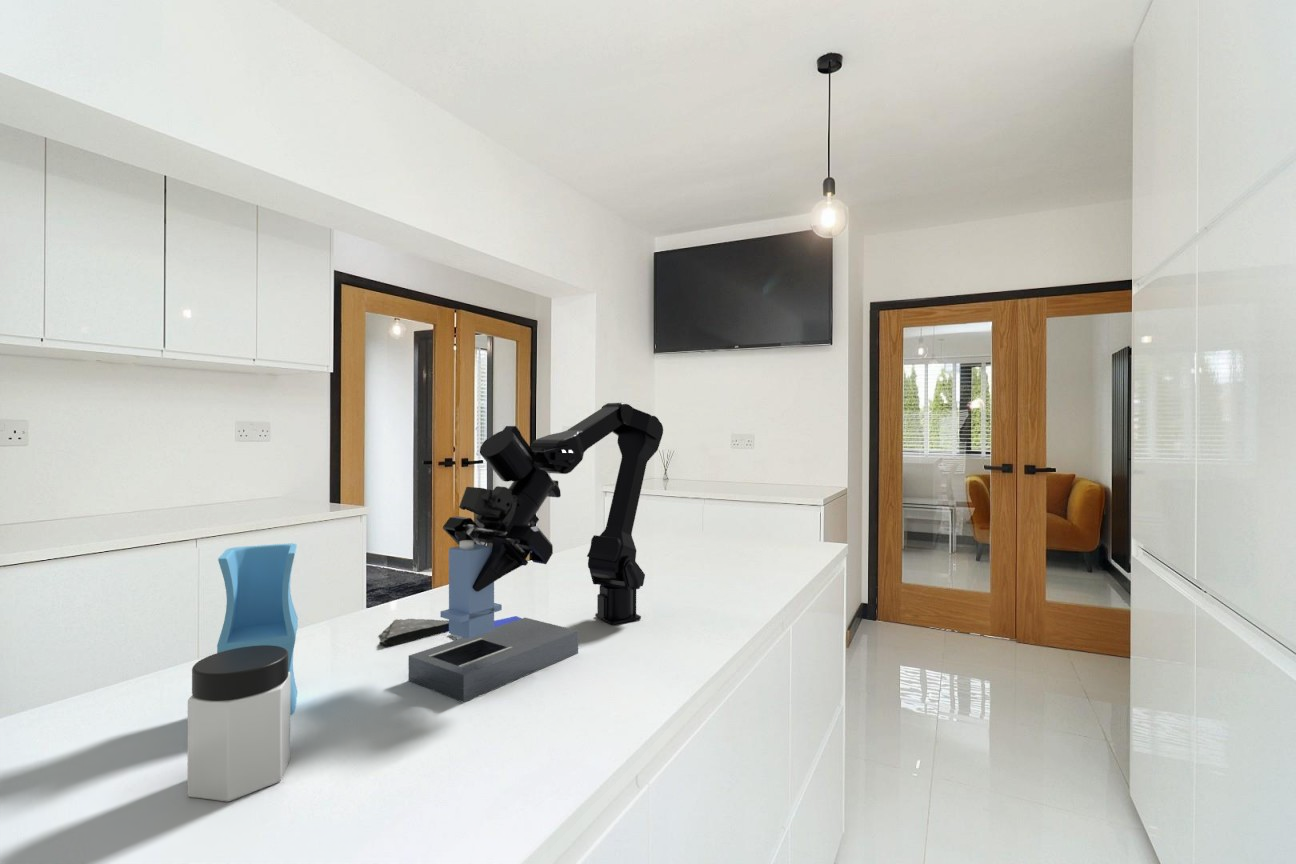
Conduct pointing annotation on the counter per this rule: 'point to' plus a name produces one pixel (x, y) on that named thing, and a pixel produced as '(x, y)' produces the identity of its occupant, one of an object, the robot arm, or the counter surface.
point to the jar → (238, 722)
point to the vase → (260, 601)
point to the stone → (412, 630)
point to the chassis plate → (491, 658)
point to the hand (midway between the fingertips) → (463, 587)
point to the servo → (469, 592)
